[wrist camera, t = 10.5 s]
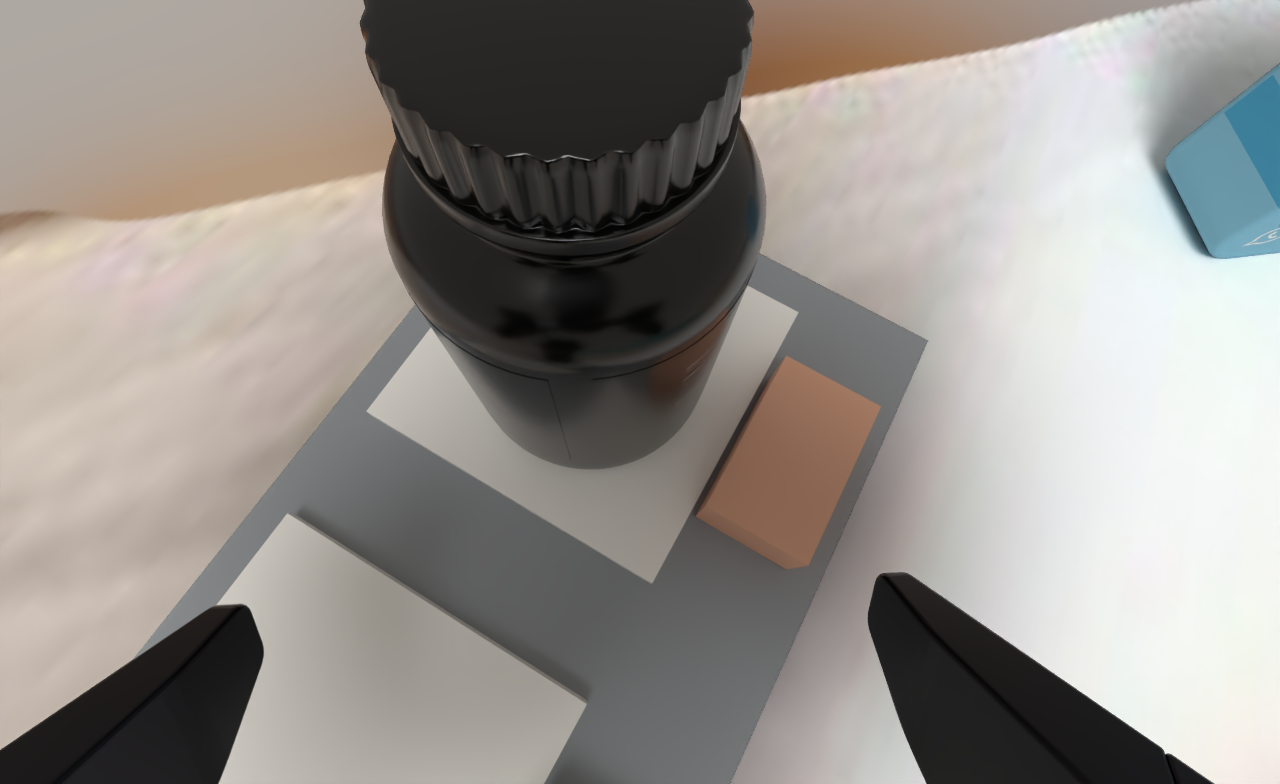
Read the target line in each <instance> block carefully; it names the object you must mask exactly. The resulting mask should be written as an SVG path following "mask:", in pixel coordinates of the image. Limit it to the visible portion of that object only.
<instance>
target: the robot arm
mask: <svg viewBox="0 0 1280 784" xmlns="http://www.w3.org/2000/svg"><path fill="white" fill-rule="evenodd" d="M868 626H869V630H870V633H871V636H872V639H873V642H874V645H875V648H876V651H877V654H878V657H879V660H880V663H881V666H882V669H883V672H884V675H885V678H886V681H887V684H888V687H889V690H890V694H891V697H892V700H893V703H894V706H895V709H896V712H897V715H898V717H899V720H900V723H901V726H902V728H903V731H904V734H905V736H906V738H907V741H908V743H909V745H910V748H911V750H912V752H913V755H914V757H915V759H916V761H917V764H918V766H919V768H920V770H921V772H922V775H923V777H924V779H925V781H926V784H1214V783H1213V782H1211V781H1210V780H1208V779H1207V778H1205V777H1204V776H1202V775H1201V774H1199V773H1198V772H1196V771H1195V770H1193V769H1192V768H1191V767H1189V766H1188V765H1186V764H1185V763H1183V762H1182V761H1180V760H1179V759H1177V758H1176V757H1175V756H1173V755H1172V754H1169V753H1168V754H1165V752H1164V750H1163V749H1162V748H1161V747H1160V746H1158V745H1157V744H1155V743H1154V742H1152V741H1151V740H1150V739H1148V738H1147V737H1145V736H1144V735H1142V734H1141V733H1139V732H1138V731H1137V730H1135V729H1134V728H1132V727H1131V726H1129V725H1128V724H1126V723H1125V722H1123V721H1122V720H1121V719H1119V718H1118V717H1116V716H1115V715H1113V714H1112V713H1110V712H1109V711H1108V710H1106V709H1105V708H1103V707H1102V706H1100V705H1099V704H1097V703H1096V702H1094V701H1093V700H1092V699H1090V698H1089V697H1087V696H1086V695H1084V694H1083V693H1081V692H1080V691H1078V690H1077V689H1076V688H1074V687H1073V686H1071V685H1070V684H1068V683H1067V682H1065V681H1064V680H1063V679H1061V678H1060V677H1058V676H1057V675H1055V674H1054V673H1052V672H1051V671H1049V670H1048V669H1047V668H1045V667H1044V666H1042V665H1041V664H1039V663H1038V662H1036V661H1035V660H1033V659H1032V658H1031V657H1029V656H1028V655H1026V654H1025V653H1023V652H1022V651H1020V650H1019V649H1018V648H1016V647H1015V646H1013V645H1012V644H1010V643H1009V642H1007V641H1006V640H1004V639H1003V638H1002V637H1000V636H999V635H997V634H996V633H994V632H993V631H991V630H990V629H989V628H987V627H986V626H984V625H983V624H981V623H980V622H978V621H977V620H975V619H974V618H973V617H971V616H970V615H968V614H967V613H965V612H964V611H962V610H961V609H959V608H958V607H957V606H955V605H954V604H952V603H951V602H949V601H948V600H946V599H945V598H944V597H942V596H941V595H939V594H938V593H936V592H935V591H933V590H932V589H930V588H929V587H928V586H926V585H925V584H923V583H922V582H920V581H919V580H917V579H916V578H915V577H913V576H911V575H910V574H908V573H904V572H898V573H882V574H880V575H879V576H878V577H877V578H876V581H875V585H874V589H873V594H872V598H871V602H870V607H869V611H868ZM263 658H264V646H263V642H262V640H261V637H260V634H259V631H258V629H257V626H256V623H255V620H254V618H253V615H252V612H251V610H250V608H249V607H247V606H246V605H244V604H227V605H216V606H212V607H210V608H209V609H207V610H205V611H204V612H202V613H201V614H199V615H198V616H196V617H195V618H194V619H192V620H191V621H189V622H188V623H186V624H185V625H183V626H182V627H180V628H179V629H177V630H176V631H174V632H173V633H171V634H170V635H169V636H167V637H166V638H164V639H163V640H161V641H160V642H158V643H157V644H155V645H154V646H152V647H151V648H149V649H148V650H146V651H145V652H144V653H142V654H141V655H139V656H138V657H136V658H135V659H133V660H132V661H130V662H129V663H127V664H126V665H124V666H123V667H121V668H120V669H119V670H117V671H116V672H114V673H113V674H111V675H110V676H108V677H107V678H105V679H104V680H102V681H101V682H99V683H98V684H96V685H95V686H94V687H92V688H91V689H89V690H88V691H86V692H85V693H83V694H82V695H80V696H79V697H77V698H76V699H74V700H73V701H71V702H70V703H69V704H67V705H66V706H64V707H63V708H61V709H60V710H58V711H57V712H55V713H54V714H52V715H51V716H49V717H48V718H46V719H45V720H44V721H42V722H41V723H39V724H38V725H36V726H35V727H33V728H32V729H30V730H29V731H27V732H26V733H24V734H23V735H21V736H20V737H19V738H17V739H16V740H14V741H13V742H11V743H10V744H8V745H7V746H5V747H4V748H2V749H1V750H0V784H219V781H220V779H221V777H222V774H223V772H224V769H225V767H226V764H227V761H228V759H229V756H230V753H231V751H232V748H233V745H234V742H235V739H236V736H237V734H238V731H239V728H240V725H241V722H242V720H243V717H244V714H245V711H246V708H247V705H248V703H249V700H250V697H251V694H252V691H253V688H254V686H255V683H256V680H257V677H258V674H259V672H260V669H261V666H262V663H263Z"/></svg>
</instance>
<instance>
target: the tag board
mask: <svg viewBox="0 0 1280 784" xmlns="http://www.w3.org/2000/svg"><path fill="white" fill-rule="evenodd" d="M927 342H928V340H926V339H924V338H922V337H920V336H918V335H916V334H914V333H913V332H911V331H909V330H907V329H905V328H903V327H901V326H899V325H897V324H895V323H893V322H891V321H889V320H887V319H885V318H884V317H882V316H880V315H878V314H876V313H874V312H872V311H870V310H868V309H866V308H864V307H862V306H860V305H858V304H856V303H855V302H853V301H851V300H849V299H847V298H845V297H843V296H841V295H839V294H837V293H835V292H833V291H831V290H829V289H827V288H826V287H824V286H822V285H820V284H818V283H816V282H814V281H812V280H810V279H808V278H806V277H804V276H802V275H800V274H798V273H797V272H795V271H793V270H791V269H789V268H787V267H785V266H783V265H781V264H779V263H777V262H775V261H773V260H771V259H769V258H768V257H766V256H764V255H762V254H760V253H759V255H758V258H757V262H756V264H755V267H754V270H753V273H752V276H751V278H750V281H749V283H748V286H747V288H746V290H745V293H744V295H743V297H742V300H741V302H740V305H739V307H738V309H737V312H736V314H735V316H734V319H733V321H732V324H731V326H730V328H729V331H728V333H727V335H726V338H725V340H724V343H723V345H722V347H721V350H720V352H719V354H718V357H717V359H716V362H715V364H714V366H713V369H712V371H711V373H710V376H709V378H708V381H707V383H706V385H705V388H704V390H703V392H702V394H701V396H700V398H699V400H698V402H697V404H696V406H695V408H694V410H693V412H692V413H691V415H690V417H689V418H688V420H687V421H686V422H685V424H684V425H683V426H682V427H681V429H680V430H679V431H678V432H677V433H676V434H675V435H674V436H673V437H672V438H671V439H670V440H669V441H668V442H666V443H665V444H664V445H663V446H661V447H660V448H658V449H657V450H656V451H654V452H652V453H650V454H649V455H647V456H645V457H643V458H641V459H638V460H636V461H634V462H631V463H628V464H625V465H621V466H617V467H612V468H605V469H575V468H569V467H564V466H560V465H557V464H553V463H550V462H548V461H545V460H542V459H540V458H538V457H536V456H534V455H532V454H531V453H529V452H528V451H526V450H524V449H523V448H521V447H520V446H519V445H518V444H516V443H515V442H514V441H513V440H511V439H510V438H509V437H508V436H507V435H506V434H505V433H504V432H503V431H502V429H501V428H500V427H499V426H498V425H497V423H496V422H495V421H494V419H493V418H492V417H491V416H490V414H489V413H488V411H487V410H486V408H485V407H484V405H483V404H482V402H481V401H480V399H479V398H478V396H477V395H476V393H475V392H474V391H473V389H472V388H471V386H470V385H469V383H468V382H467V380H466V379H465V377H464V376H463V374H462V373H461V371H460V370H459V368H458V367H457V365H456V364H455V362H454V361H453V359H452V358H451V356H450V355H449V353H448V352H447V350H446V349H445V347H444V346H443V344H442V343H441V341H440V340H439V339H438V337H437V336H436V334H435V333H434V331H433V330H432V328H431V327H430V325H429V324H428V322H427V321H426V319H425V318H424V316H423V315H422V313H421V312H420V310H419V309H418V307H417V306H416V304H415V306H414V307H413V308H412V309H411V311H410V312H409V313H408V314H407V316H406V317H405V318H404V319H403V321H402V322H401V323H400V324H399V326H398V327H397V328H396V329H395V331H394V332H393V333H392V334H391V336H390V337H389V338H388V340H387V341H386V342H385V343H384V345H383V346H382V347H381V348H380V350H379V351H378V352H377V353H376V355H375V356H374V357H373V358H372V360H371V361H370V362H369V363H368V365H367V366H366V367H365V368H364V370H363V371H362V372H361V373H360V375H359V376H358V377H357V379H356V380H355V381H354V382H353V384H352V385H351V386H350V387H349V389H348V390H347V391H346V392H345V394H344V395H343V396H342V397H341V399H340V400H339V401H338V402H337V404H336V405H335V406H334V407H333V409H332V410H331V411H330V412H329V414H328V415H327V416H326V418H325V419H324V420H323V421H322V423H321V424H320V425H319V426H318V428H317V429H316V430H315V431H314V433H313V434H312V435H311V436H310V438H309V439H308V440H307V441H306V443H305V444H304V445H303V446H302V448H301V449H300V450H299V451H298V453H297V454H296V455H295V457H294V458H293V459H292V460H291V462H290V463H289V464H288V465H287V467H286V468H285V469H284V470H283V472H282V473H281V474H280V475H279V477H278V478H277V479H276V480H275V482H274V483H273V484H272V485H271V487H270V488H269V489H268V490H267V492H266V493H265V494H264V496H263V497H262V498H261V499H260V501H259V502H258V503H257V504H256V506H255V507H254V508H253V509H252V511H251V512H250V513H249V514H248V516H247V517H246V518H245V519H244V521H243V522H242V523H241V524H240V526H239V527H238V528H237V529H236V531H235V532H234V533H233V535H232V536H231V537H230V538H229V540H228V541H227V542H226V543H225V545H224V546H223V547H222V548H221V550H220V551H219V552H218V553H217V555H216V556H215V557H214V558H213V560H212V561H211V562H210V563H209V565H208V566H207V567H206V568H205V570H204V571H203V572H202V573H201V575H200V576H199V577H198V579H197V580H196V581H195V582H194V584H193V585H192V586H191V587H190V589H189V590H188V591H187V592H186V594H185V595H184V596H183V597H182V599H181V600H180V601H179V602H178V604H177V605H176V606H175V607H174V609H173V610H172V611H171V612H170V614H169V615H168V616H167V618H166V619H165V620H164V621H163V623H162V624H161V625H160V626H159V628H158V629H157V630H156V631H155V633H154V634H153V635H152V636H151V638H150V639H149V640H148V641H147V643H146V644H145V645H144V646H143V648H142V649H141V650H140V651H139V653H138V654H137V655H136V657H138V656H139V655H141V654H142V653H144V652H145V651H146V650H148V649H149V648H151V647H152V646H154V645H155V644H157V643H158V642H160V641H161V640H163V639H164V638H166V637H167V636H169V635H170V634H171V633H173V632H174V631H176V630H177V629H179V628H180V627H182V626H183V625H185V624H186V623H188V622H189V621H191V620H192V619H194V618H195V617H196V616H198V615H199V614H201V613H202V612H204V611H205V610H207V609H209V608H210V607H212V606H216V605H227V604H244V605H246V606H247V607H249V608H250V610H251V612H252V615H253V618H254V620H255V623H256V626H257V629H258V631H259V634H260V637H261V640H262V642H263V646H264V658H263V663H262V666H261V669H260V672H259V674H258V677H257V680H256V683H255V686H254V688H253V691H252V694H251V697H250V700H249V703H248V705H247V708H246V711H245V714H244V717H243V720H242V722H241V725H240V728H239V731H238V734H237V736H236V739H235V742H234V745H233V748H232V751H231V753H230V756H229V759H228V761H227V764H226V767H225V769H224V772H223V774H222V777H221V779H220V781H219V784H730V783H731V780H732V778H733V776H734V774H735V771H736V769H737V767H738V765H739V762H740V760H741V758H742V756H743V753H744V751H745V749H746V747H747V745H748V742H749V740H750V738H751V736H752V733H753V731H754V729H755V727H756V724H757V722H758V720H759V718H760V715H761V713H762V711H763V709H764V707H765V704H766V702H767V700H768V698H769V695H770V693H771V691H772V689H773V686H774V684H775V682H776V680H777V677H778V675H779V673H780V671H781V668H782V666H783V664H784V662H785V660H786V657H787V655H788V653H789V651H790V648H791V646H792V644H793V642H794V639H795V637H796V635H797V633H798V630H799V628H800V626H801V624H802V622H803V619H804V617H805V615H806V613H807V610H808V608H809V606H810V604H811V601H812V599H813V597H814V595H815V592H816V590H817V588H818V586H819V584H820V581H821V579H822V577H823V575H824V572H825V570H826V568H827V566H828V563H829V561H830V559H831V557H832V554H833V552H834V550H835V548H836V545H837V543H838V541H839V539H840V537H841V534H842V532H843V530H844V528H845V525H846V523H847V521H848V519H849V516H850V514H851V512H852V510H853V507H854V505H855V503H856V501H857V499H858V496H859V494H860V492H861V490H862V487H863V485H864V483H865V481H866V478H867V476H868V474H869V472H870V469H871V467H872V465H873V463H874V460H875V458H876V456H877V454H878V452H879V449H880V447H881V445H882V443H883V440H884V438H885V436H886V434H887V431H888V429H889V427H890V425H891V422H892V420H893V418H894V416H895V414H896V411H897V409H898V407H899V405H900V402H901V400H902V398H903V396H904V393H905V391H906V389H907V387H908V384H909V382H910V380H911V378H912V375H913V373H914V371H915V369H916V367H917V364H918V362H919V360H920V358H921V355H922V353H923V351H924V349H925V346H926V344H927ZM136 657H135V658H136ZM135 658H134V659H135Z"/></svg>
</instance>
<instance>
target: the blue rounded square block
mask: <svg viewBox="0 0 1280 784" xmlns="http://www.w3.org/2000/svg"><path fill="white" fill-rule="evenodd" d="M1165 166H1166V169H1167V171H1168V173H1169V175H1170V177H1171V179H1172V180H1173V182H1174V184H1175V186H1176V188H1177V190H1178V192H1179V194H1180V196H1181V198H1182V200H1183V202H1184V204H1185V206H1186V208H1187V210H1188V212H1189V214H1190V216H1191V218H1192V220H1193V222H1194V224H1195V225H1196V227H1197V229H1198V231H1199V233H1200V235H1201V237H1202V239H1203V241H1204V243H1205V245H1206V247H1207V249H1208V251H1209V253H1210V254H1211V255H1212V256H1214V257H1216V258H1222V259H1227V258H1237V257H1246V256H1254V255H1263V254H1271V253H1280V63H1279V64H1278V65H1277V66H1275V67H1274V68H1273V69H1272V70H1270V71H1269V72H1268V73H1267V74H1265V75H1264V76H1263V77H1261V78H1260V79H1259V80H1258V81H1256V82H1255V83H1254V84H1253V85H1251V86H1250V87H1249V88H1248V89H1246V90H1245V91H1244V92H1243V93H1241V94H1240V95H1239V96H1238V97H1236V98H1235V99H1234V100H1233V101H1231V102H1230V103H1229V104H1228V105H1226V106H1225V107H1224V108H1222V109H1221V110H1220V111H1219V112H1217V113H1216V114H1215V115H1214V116H1212V117H1211V118H1210V119H1209V120H1207V121H1206V122H1205V123H1204V124H1202V125H1201V126H1200V127H1199V128H1197V129H1196V130H1195V131H1194V132H1192V133H1191V134H1190V135H1189V136H1187V137H1186V138H1185V139H1183V140H1182V141H1181V142H1180V143H1179V144H1177V145H1176V146H1175V147H1174V148H1173V150H1172V151H1171V152H1170V153H1169V155H1168V156H1167V159H1166V162H1165Z"/></svg>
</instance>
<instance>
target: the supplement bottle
mask: <svg viewBox="0 0 1280 784" xmlns="http://www.w3.org/2000/svg"><path fill="white" fill-rule="evenodd" d="M364 4H365V10H364V12H363V15H362V18H361V20H360V27H361V31H362V35H363V37H364V40H365V42H366V50H365V53H366V58H367V62H368V65H369V68H370V70H371V73H372V75H373V77H374V79H375V81H376V83H377V86H378V88H379V90H380V92H381V95H382V97H383V99H384V101H385V103H386V105H387V108H388V109H389V112H390V114H391V116H392V123H393V128H394V132H395V135H396V140H395V143H394V145H393V148H392V151H391V154H390V156H389V161H388V165H387V168H386V173H385V178H384V186H383V195H382V216H383V224H384V232H385V237H386V241H387V245H388V249H389V252H390V255H391V258H392V260H393V263H394V266H395V268H396V270H397V272H398V274H399V276H400V278H401V280H402V282H403V284H404V285H405V287H406V289H407V291H408V293H409V295H410V296H411V298H412V300H413V301H414V303H415V304H416V306H417V307H418V309H419V310H420V312H421V313H422V315H423V316H424V318H425V319H426V321H427V322H428V324H429V325H430V327H431V328H432V330H433V331H434V333H435V334H436V336H437V337H438V339H439V340H440V341H441V343H442V344H443V346H444V347H445V349H446V350H447V352H448V353H449V355H450V356H451V358H452V359H453V361H454V362H455V364H456V365H457V367H458V368H459V370H460V371H461V373H462V374H463V376H464V377H465V379H466V380H467V382H468V383H469V385H470V386H471V388H472V389H473V391H474V392H475V393H476V395H477V396H478V398H479V399H480V401H481V402H482V404H483V405H484V407H485V408H486V410H487V411H488V413H489V414H490V416H491V417H492V418H493V419H494V421H495V422H496V423H497V425H498V426H499V427H500V428H501V429H502V431H503V432H504V433H505V434H506V435H507V436H508V437H509V438H510V439H511V440H513V441H514V442H515V443H516V444H518V445H519V446H520V447H521V448H523V449H524V450H526V451H528V452H529V453H531V454H532V455H534V456H536V457H538V458H540V459H542V460H545V461H548V462H550V463H553V464H557V465H560V466H564V467H569V468H575V469H605V468H612V467H617V466H621V465H625V464H628V463H631V462H634V461H636V460H638V459H641V458H643V457H645V456H647V455H649V454H650V453H652V452H654V451H656V450H657V449H658V448H660V447H661V446H663V445H664V444H665V443H666V442H668V441H669V440H670V439H671V438H672V437H673V436H674V435H675V434H676V433H677V432H678V431H679V430H680V429H681V427H682V426H683V425H684V424H685V422H686V421H687V420H688V418H689V417H690V415H691V413H692V412H693V410H694V408H695V406H696V404H697V402H698V400H699V398H700V396H701V394H702V392H703V390H704V388H705V385H706V383H707V381H708V378H709V376H710V373H711V371H712V369H713V366H714V364H715V362H716V359H717V357H718V354H719V352H720V350H721V347H722V345H723V343H724V340H725V338H726V335H727V333H728V331H729V328H730V326H731V324H732V321H733V319H734V316H735V314H736V312H737V309H738V307H739V305H740V302H741V300H742V297H743V295H744V293H745V290H746V288H747V286H748V283H749V281H750V278H751V276H752V273H753V270H754V267H755V264H756V262H757V258H758V255H759V252H760V248H761V244H762V240H763V235H764V230H765V221H766V192H765V184H764V178H763V174H762V170H761V165H760V161H759V158H758V156H757V153H756V150H755V147H754V145H753V142H752V140H751V138H750V136H749V134H748V132H747V130H746V128H745V126H744V124H743V123H742V121H741V119H740V113H741V93H742V89H743V85H744V81H745V77H746V73H747V69H748V65H749V61H750V57H751V50H752V39H751V33H752V28H753V22H754V21H753V20H754V11H753V9H752V7H751V5H750V3H749V1H748V0H364Z"/></svg>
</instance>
